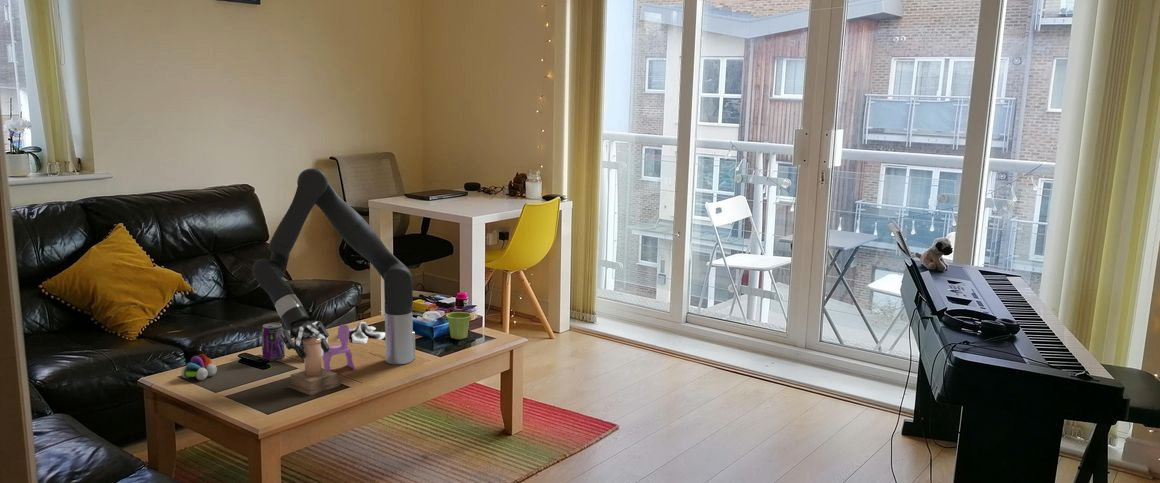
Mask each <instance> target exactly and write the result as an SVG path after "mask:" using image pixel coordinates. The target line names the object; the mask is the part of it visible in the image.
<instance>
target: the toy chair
mask: <svg viewBox="0 0 1160 483" xmlns="http://www.w3.org/2000/svg"><path fill="white" fill-rule="evenodd" d="M337 329H338V330H337V338H338V339H339V340H340V341H339V342H340V343H341V344H339V345H333V346H329V351H328V352H327V353H324V352H323V356H322V358H323V359H322V360H323V361H322V362H323V367H324V368H323V369H326V370H329V371H332V369H331V366H330V364H331V359H332V357H333V356H336V355H339V354H340V355H341V354H344V355H345V358H346V365H347V366H348V367H350V368H351V369H353V370H354V371H356V367H355V364H354V362H353V353H352V352H351V348H348V344H349V339H350V337H349V329H350V327H349V325H348V324H347V323H346V324H345V323H343V324H340V325H339V326H338V328H337Z"/></svg>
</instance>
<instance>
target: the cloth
mask: <svg viewBox="0 0 1160 483" xmlns="http://www.w3.org/2000/svg"><path fill="white" fill-rule="evenodd" d="M376 329H377V328H376V327H375V326H373V325H371V326H369V325H368V324H367V322H366V321H365V322H364V321H360V322H359V324H357V326H355V327H354V328H352V329H350V328H349V338H350V337H351V339H352V341H351V343H352V344H363V345H364V344H368V341H369V338H375V339H376V340H379V341H380V340H383V339H385V331H376ZM337 341H339V342H341V341H340V340H339V338H338V339H337Z"/></svg>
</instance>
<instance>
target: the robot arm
mask: <svg viewBox="0 0 1160 483" xmlns="http://www.w3.org/2000/svg"><path fill="white" fill-rule="evenodd" d="M296 180H297V182H296V184H297V187H296V190H295V193H294V196H293V200H292V202H291V204H290V205H289V208H288V209H287V211H286V212H285V214H284V216H283V217H282V219H281V220H280V222H279V223H278V226H277V228H276V230H275V231H274V233H273V235H272V238H271V240H270V241H269V243H268V250H269V251H270V252H271V255H270V258H259V259H257V260H256V261H255V262H254V263H253V265H252V268H251V271H252V275H253V278H254V279H255V281H256V282H257V283H258V285H259V286H260V287H261V288H262V289H263V290H264V291H265V293H266V294H268V296H269V298H270V300H271V302H272V303H273V306H274V307H275V309H276V312H277V314H278V316H279V318H280V320H281V321H282V323H283V324H284V326H285V329H284V328H283V332H282V333H281V337H282V339H283V341H284V346H285V347H286V349H287V350H289V351H290V350H293V351H295V353H296V355H297V356H298V358H299V359H301V360H304V359H305V357H306V353H305V351H304V350H303V348H302V346H300V342H301V341H303V340H304V339H306V338H318V337H319V338H320V339H321V348H322V349H323V351H324V353H327V352H328V351H329V347H330V345H329V342H328V343H327V342H326V339H327V337H330V333H329V332H328V330H327V329H326V328H325V326H324V324H323V323H322V321H320V320H317V321H318V322H317V323H315V324H312V323H311V322H310V321H311V320H310V316H309V315H308V314H309V313H308V312H307V310H306V309H305V307H304V306H303V304H302V302H301V301H300V299H299V298H298V297H297V295H296V293H295V292H294V290H293V288H292V287H291V285H290V284H289V283H288V282H287V281H285V280H284V279H282V278H283V277H284V275H285V274H286V271H287V267H288V264H289V259H290V253H291V252H292V250H293V248H294V245H295V244H296V242H297V241H298V238H299V236H300V234H301V231H302V229H303V227H304V225H305V223H306V221H307V218H308V217H309V214H310V212H311V211H312V209H313V207H314V206H315V205H316V206H317V208H319V209H320V210H321V211H322V213H324V215H325V216H326V218H327V220H328V221H329V222H330V224H331V226H332V227H333V228H334V229H335V231H336V232H337V233H338V235H339V236H340V237H341V238H342V239H343V240H344V241H345V243H347V245H348V246H349V247H351V248H352V249H353V251H355V252H357V253H358V254H359V255H360V256H361V257H363V258H364V259H365V260H366V261H368V262H369V263H370V264H371V265H372V266H373V267H374V269H375V270H376V271H377V273H379V275H380V277H381V278H382V280H383V289H384V290H383V292H384V306H383V307H384V332H385V337H384V340H385V342H384V343H385V362H386V363H387V364H390V365H405V364H409V363H411V362H413V361H414V360H415V359H416V333H415V331H414V329H413V328H414V327H413V325H414V324H413V321H414V320H413V303H414V301H413V300H414V299H413V298H414V297H413V295H414V293H413V290H414V289H413V286H414V285H413V276H412V273H411V271H410V269H409V268H408V267H407V266H406V265H405V264H404V263H403V262H402V261H400V260H399V259H398V258H397V257H396V256H395V255H394V254H393V253H392V252H391V251H390V249H388V248H387V247H386V245H385V244H384V242H383V241H382V240H381V238H380V237H379V235H378V234H377V233H376V232H375V230H374V229H373V228H372V227H371V226H370V224H369V223H368V222H367V221H366V220H365V219H364V218H363V217H362V215H360V214H359V213H358V211H356V210H355V209H354V208H353V207H352V206H350V204H349V203H347V201H344V200H343V199H342V198H341V196H340V195H339V194H338V193H337V192H336V191H335V189H334V188H333V187H332V185H331V184H330V182H329V181H328V177H327V176H326V174H325V173H324V172H323V171H322V170H320V169H318V168H310V167H309V168H306V169H304V170H303V171H301V173H299V175H298V176H297V179H296ZM314 328H315V329H314ZM313 333H314V334H315V336H313ZM292 337H293V338H294V339H292Z"/></svg>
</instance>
